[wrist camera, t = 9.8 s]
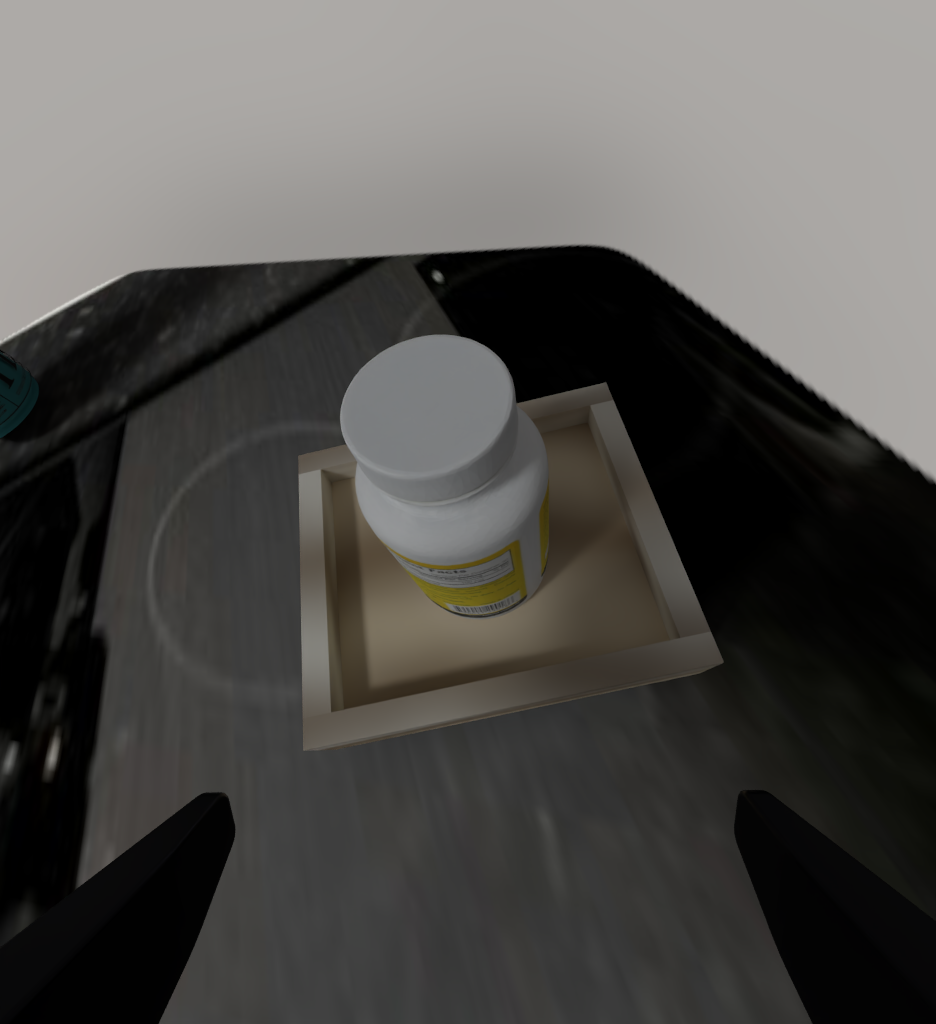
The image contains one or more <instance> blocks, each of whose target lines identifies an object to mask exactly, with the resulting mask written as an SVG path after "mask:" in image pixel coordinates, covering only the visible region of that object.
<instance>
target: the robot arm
mask: <svg viewBox="0 0 936 1024" xmlns="http://www.w3.org/2000/svg"><path fill="white" fill-rule="evenodd" d="M734 833H735V838H736V842H737V845H738V848H739V850H740V853H741V856H742V858H743V861H744V863H745V866H746V869H747V871H748V874H749V877H750V879H751V882H752V884H753V887H754V890H755V892H756V895H757V897H758V900H759V903H760V905H761V908H762V910H763V913H764V916H765V918H766V921H767V924H768V926H769V929H770V931H771V934H772V937H773V939H774V941H775V944H776V946H777V949H778V951H779V954H780V956H781V958H782V960H783V963H784V965H785V967H786V969H787V971H788V974H789V976H790V978H791V980H792V982H793V984H794V986H795V988H796V990H797V992H798V994H799V996H800V999H801V1001H802V1003H803V1005H804V1007H805V1009H806V1011H807V1013H808V1015H809V1017H810V1019H811V1021H812V1024H936V921H935V920H933V919H932V918H931V917H930V916H928V915H927V914H926V913H924V912H923V911H922V910H921V909H919V908H918V907H917V906H915V905H914V904H913V903H911V902H910V901H909V900H908V899H906V898H905V897H904V896H902V895H901V894H900V893H899V892H897V891H896V890H895V889H893V888H892V887H891V886H889V885H888V884H887V883H886V882H884V881H883V880H882V879H880V878H879V877H878V876H877V875H875V874H874V873H873V872H871V871H870V870H869V869H867V868H866V867H865V866H864V865H862V864H861V863H860V862H858V861H857V860H856V859H855V858H853V857H852V856H851V855H849V854H848V853H847V852H845V851H844V850H843V849H842V848H840V847H839V846H838V845H836V844H835V843H834V842H832V841H831V840H830V839H829V838H827V837H826V836H825V835H823V834H822V833H821V832H820V831H818V830H817V829H816V828H814V827H813V826H812V825H810V824H809V823H808V822H807V821H805V820H804V819H803V818H801V817H800V816H799V815H798V814H796V813H795V812H794V811H792V810H791V809H790V808H788V807H787V806H786V805H785V804H783V803H782V802H781V801H779V800H778V799H777V798H776V797H774V796H773V795H772V794H770V793H768V792H767V791H764V790H743V791H741V792H740V793H739V795H738V800H737V808H736V815H735V823H734ZM234 838H235V823H234V819H233V815H232V810H231V806H230V802H229V798H228V796H227V795H226V794H225V793H222V792H213V793H203V794H201V795H199V796H197V797H196V798H195V799H193V800H192V801H191V802H190V803H188V804H187V805H186V806H184V807H183V808H182V809H180V810H179V811H178V812H176V813H175V814H174V815H173V816H171V817H170V818H169V819H167V820H166V821H165V822H163V823H162V824H161V825H159V826H158V827H157V828H156V829H154V830H153V831H152V832H150V833H149V834H148V835H146V836H145V837H144V838H143V839H141V840H140V841H139V842H137V843H136V844H135V845H133V846H132V847H131V848H129V849H128V850H127V851H126V852H124V853H123V854H122V855H120V856H119V857H118V858H116V859H115V860H114V861H112V862H111V863H110V864H109V865H107V866H106V867H105V868H103V869H102V870H101V871H99V872H98V873H97V874H95V875H94V876H93V877H92V878H90V879H89V880H88V881H86V882H85V883H84V884H82V885H81V886H80V887H79V888H77V889H76V890H75V891H73V892H72V893H71V894H69V895H68V896H67V897H65V898H64V899H63V900H62V901H60V902H59V903H58V904H56V905H55V906H54V907H52V908H51V909H50V910H48V911H47V912H46V913H45V914H43V915H42V916H41V917H39V918H38V919H37V920H35V921H34V922H33V923H32V924H30V925H29V926H28V927H26V928H25V929H24V930H22V931H21V932H20V933H18V934H17V935H16V936H15V937H13V938H12V939H11V940H9V941H8V942H7V943H5V944H4V945H3V946H1V947H0V1024H159V1022H160V1019H161V1017H162V1015H163V1013H164V1011H165V1009H166V1007H167V1004H168V1002H169V1000H170V998H171V996H172V994H173V992H174V989H175V987H176V985H177V983H178V981H179V979H180V977H181V974H182V972H183V970H184V968H185V966H186V964H187V961H188V959H189V957H190V955H191V952H192V950H193V948H194V946H195V943H196V941H197V938H198V936H199V933H200V931H201V928H202V926H203V923H204V920H205V918H206V915H207V912H208V909H209V907H210V904H211V901H212V899H213V896H214V893H215V891H216V888H217V885H218V883H219V880H220V877H221V875H222V872H223V869H224V867H225V864H226V861H227V858H228V856H229V853H230V850H231V848H232V845H233V842H234Z"/></svg>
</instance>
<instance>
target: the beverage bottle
mask: <svg viewBox="0 0 936 1024" xmlns="http://www.w3.org/2000/svg"><path fill="white" fill-rule="evenodd" d="M1 352H2V353H1ZM3 353H5V352H3V351H1V350H0V438H1V437H3V436H5V435H6V434H8V433H9V432H11V431H12V430H13V429H14V428H16V427H17V426H18V425H19V424H20V423H21V422H22V421H23V420H24V419H25V418H26V417H27V415H28V414H29V413H30V411H31V410H32V409H33V407H34V405H35V403H36V401H37V398H38V394H39V387H38V384H37V382H36V380H35V379H34V378H33V377H32V376H31V373H30V371H29V370H28V371H29V372H28V371H26V370H25V369H24V367H23V368H22V367H21V366H19V365H18V364H17V362H15V360H14V359H13V358H12V357H11V358H12V359H13V360H14V361H12V360H11V359H10V358H8V356H9V355H8V356H5V355H4V354H3ZM16 361H17V360H16ZM19 364H20V362H19Z"/></svg>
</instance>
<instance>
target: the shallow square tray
mask: <svg viewBox="0 0 936 1024" xmlns="http://www.w3.org/2000/svg"><path fill="white" fill-rule="evenodd" d="M516 405H517V406H518V407H519V408H520V409H522V410H523V411H524V412H525V413H526V414H527V415H528V416H529V418H530V419H531V420H532V421H533V423H534V424H535V426H536V427H537V429H538V431H539V433H540V435H541V437H542V439H543V442H544V445H545V449H546V453H547V458H548V470H549V553H548V562H547V567H546V571H545V574H544V576H543V579H542V581H541V583H540V585H539V587H538V588H537V590H536V591H535V592H534V594H533V595H532V596H531V597H530V598H529V599H528V600H527V601H526V602H525V603H524V604H522V605H521V606H520V607H518V608H517V609H515V610H513V611H512V612H510V613H507V614H505V615H502V616H499V617H495V618H490V619H481V620H479V619H467V618H462V617H459V616H456V615H453V614H451V613H449V612H447V611H445V610H444V609H442V608H440V607H439V606H438V605H436V604H435V603H434V602H433V601H431V600H430V599H429V598H428V597H427V596H426V594H425V593H424V592H423V591H422V590H421V588H420V587H419V586H418V585H417V584H416V582H415V581H414V580H413V579H412V578H411V576H410V575H409V574H408V573H407V572H406V571H405V569H404V568H403V567H402V566H401V564H400V563H399V562H398V561H397V560H396V558H395V557H394V556H393V555H392V554H391V552H390V551H389V550H388V549H387V548H386V546H385V545H384V544H383V543H382V542H381V541H380V539H379V538H378V537H377V536H376V534H375V533H374V532H373V530H372V529H371V527H370V525H369V524H368V522H367V521H366V519H365V517H364V515H363V513H362V511H361V508H360V506H359V503H358V498H357V494H356V485H355V475H356V467H357V461H356V459H355V458H354V456H353V454H352V453H351V451H350V449H349V448H348V446H347V444H346V445H342V446H338V447H333V448H329V449H325V450H321V451H317V452H312V453H308V454H304V455H300V456H298V458H299V516H300V575H301V634H302V693H303V751H309V750H336V749H341V748H346V747H350V746H355V745H360V744H365V743H369V742H374V741H379V740H384V739H389V738H393V737H398V736H403V735H408V734H412V733H417V732H422V731H427V730H432V729H436V728H441V727H446V726H451V725H456V724H460V723H465V722H470V721H475V720H479V719H484V718H489V717H494V716H499V715H503V714H508V713H513V712H518V711H522V710H527V709H532V708H537V707H542V706H546V705H551V704H556V703H561V702H565V701H570V700H575V699H580V698H585V697H589V696H594V695H599V694H604V693H608V692H613V691H618V690H623V689H628V688H632V687H637V686H642V685H647V684H652V683H656V682H661V681H666V680H671V679H675V678H680V677H685V676H690V675H695V674H699V673H701V672H704V671H706V670H708V669H710V668H713V667H715V666H717V665H719V664H722V663H724V662H723V659H722V657H721V654H720V652H719V650H718V647H717V645H716V643H715V640H714V638H713V635H712V633H711V631H710V628H709V626H708V624H707V621H706V619H705V616H704V614H703V612H702V609H701V607H700V605H699V602H698V600H697V597H696V595H695V593H694V590H693V588H692V586H691V583H690V581H689V578H688V576H687V574H686V571H685V569H684V567H683V564H682V562H681V559H680V557H679V555H678V552H677V550H676V548H675V545H674V543H673V540H672V538H671V536H670V533H669V531H668V529H667V526H666V524H665V521H664V519H663V517H662V514H661V512H660V510H659V507H658V505H657V502H656V500H655V498H654V495H653V493H652V491H651V488H650V486H649V483H648V481H647V479H646V476H645V474H644V472H643V469H642V467H641V464H640V462H639V460H638V457H637V455H636V453H635V450H634V448H633V445H632V443H631V441H630V438H629V436H628V434H627V431H626V429H625V427H624V424H623V422H622V419H621V417H620V415H619V412H618V410H617V408H616V405H615V403H614V400H613V398H612V396H611V393H610V391H609V389H608V386H607V384H606V383H602V384H597V385H593V386H589V387H585V388H581V389H576V390H572V391H568V392H564V393H560V394H555V395H551V396H547V397H543V398H539V399H534V400H530V401H526V402H522V403H518V404H516Z"/></svg>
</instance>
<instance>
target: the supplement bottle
mask: <svg viewBox="0 0 936 1024" xmlns="http://www.w3.org/2000/svg"><path fill="white" fill-rule="evenodd" d="M340 422H341V430H342V434H343V437H344V440H345V442H346V444H347V446H348V448H349V449H350V451H351V453H352V454H353V456H354V458H355V459H356V461H357V467H356V475H355V485H356V494H357V498H358V503H359V506H360V508H361V511H362V513H363V515H364V517H365V519H366V521H367V522H368V524H369V525H370V527H371V529H372V530H373V532H374V533H375V534H376V536H377V537H378V538H379V539H380V541H381V542H382V543H383V544H384V545H385V546H386V548H387V549H388V550H389V551H390V552H391V554H392V555H393V556H394V557H395V558H396V560H397V561H398V562H399V563H400V564H401V566H402V567H403V568H404V569H405V571H406V572H407V573H408V574H409V575H410V576H411V578H412V579H413V580H414V581H415V582H416V584H417V585H418V586H419V587H420V588H421V590H422V591H423V592H424V593H425V594H426V596H427V597H428V598H429V599H430V600H431V601H433V602H434V603H435V604H436V605H438V606H439V607H440V608H442V609H444V610H445V611H447V612H449V613H451V614H453V615H456V616H459V617H462V618H467V619H479V620H481V619H490V618H495V617H499V616H502V615H505V614H507V613H510V612H512V611H513V610H515V609H517V608H518V607H520V606H521V605H522V604H524V603H525V602H526V601H527V600H528V599H529V598H530V597H531V596H532V595H533V594H534V592H535V591H536V590H537V588H538V587H539V585H540V583H541V581H542V579H543V576H544V574H545V571H546V567H547V562H548V553H549V470H548V458H547V453H546V449H545V445H544V442H543V439H542V437H541V435H540V433H539V431H538V429H537V427H536V426H535V424H534V423H533V421H532V420H531V419H530V418H529V416H528V415H527V414H526V413H525V412H524V411H523V410H522V409H520V408H519V407H518V406H517V405H516V398H515V389H514V384H513V380H512V377H511V375H510V373H509V371H508V369H507V367H506V365H505V364H504V363H503V361H502V360H501V359H500V358H499V357H498V356H497V355H496V354H495V353H494V352H493V351H491V350H490V349H489V348H487V347H486V346H484V345H482V344H480V343H478V342H476V341H473V340H471V339H467V338H463V337H459V336H453V335H429V336H422V337H417V338H413V339H410V340H407V341H404V342H401V343H398V344H396V345H394V346H392V347H390V348H388V349H386V350H384V351H383V352H381V353H380V354H378V355H377V356H376V357H374V358H373V359H372V360H370V361H369V362H368V363H367V364H366V365H365V366H364V367H363V368H362V369H361V370H360V371H359V372H358V373H357V375H356V376H355V377H354V379H353V380H352V382H351V383H350V385H349V387H348V389H347V391H346V394H345V396H344V398H343V402H342V406H341V414H340Z"/></svg>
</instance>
